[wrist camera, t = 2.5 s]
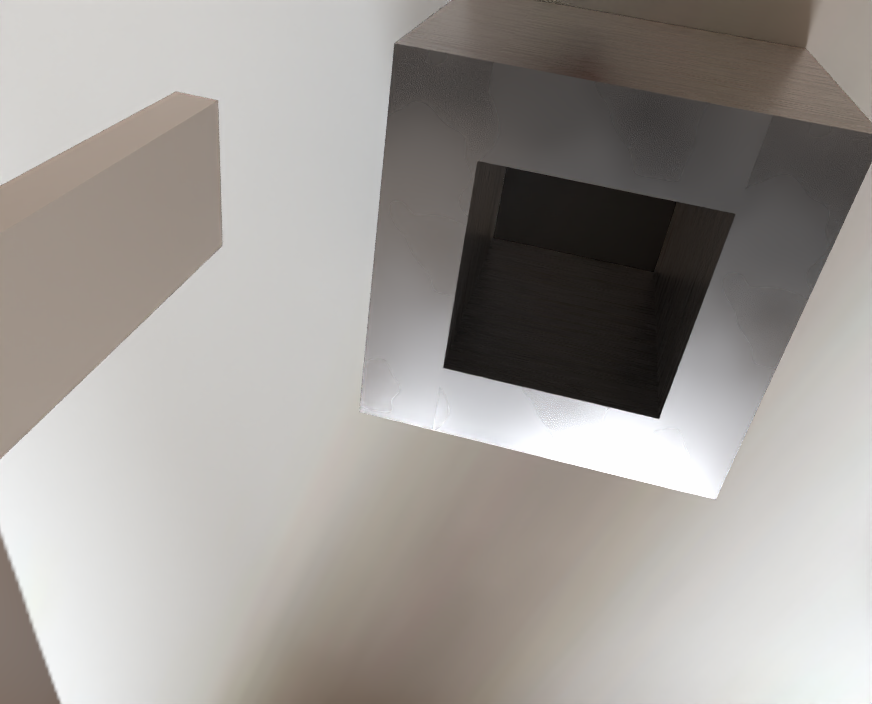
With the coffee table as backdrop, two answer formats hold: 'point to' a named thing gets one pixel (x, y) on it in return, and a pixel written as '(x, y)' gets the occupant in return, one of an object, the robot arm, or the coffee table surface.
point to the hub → (588, 278)
